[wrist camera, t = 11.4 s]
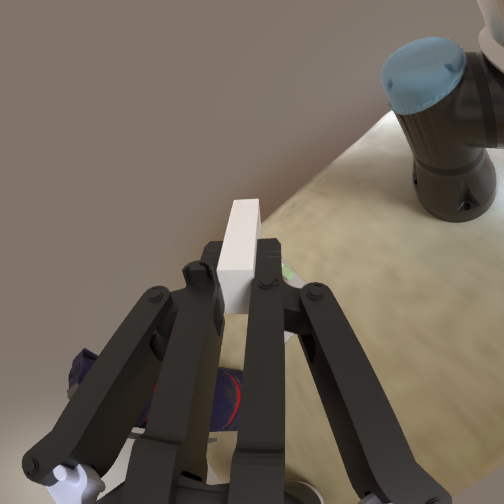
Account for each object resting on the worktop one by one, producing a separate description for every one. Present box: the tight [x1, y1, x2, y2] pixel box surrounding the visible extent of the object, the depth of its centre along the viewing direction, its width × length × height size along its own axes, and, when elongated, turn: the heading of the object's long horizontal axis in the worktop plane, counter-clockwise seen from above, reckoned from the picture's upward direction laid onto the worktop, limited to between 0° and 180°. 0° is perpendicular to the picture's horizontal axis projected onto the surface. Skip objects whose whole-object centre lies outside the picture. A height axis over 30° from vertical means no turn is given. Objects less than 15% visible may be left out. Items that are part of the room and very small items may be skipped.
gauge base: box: [281, 257, 307, 343], centre depth 48 cm, size 10×15×2 cm, turn 36°
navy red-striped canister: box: [67, 348, 243, 443], centre depth 34 cm, size 14×12×30 cm
